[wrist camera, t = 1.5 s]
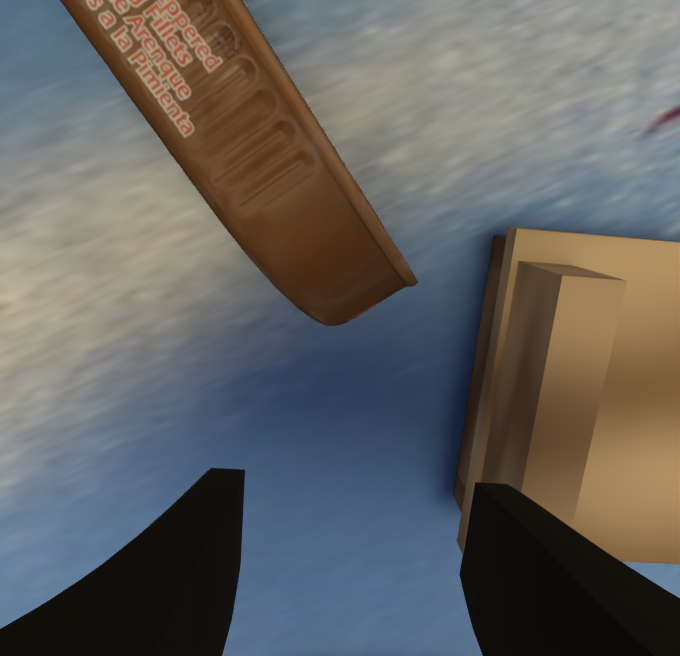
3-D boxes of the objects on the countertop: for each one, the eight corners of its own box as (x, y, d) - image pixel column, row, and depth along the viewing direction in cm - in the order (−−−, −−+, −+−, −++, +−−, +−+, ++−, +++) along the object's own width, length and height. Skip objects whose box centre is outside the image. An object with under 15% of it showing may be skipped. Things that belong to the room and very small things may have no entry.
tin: (401, 254, 18) (471, 305, 10) (325, 304, 18) (332, 393, 10) (117, -198, 15) (-131, -689, 6) (30, -126, 15) (-313, -509, 7)
